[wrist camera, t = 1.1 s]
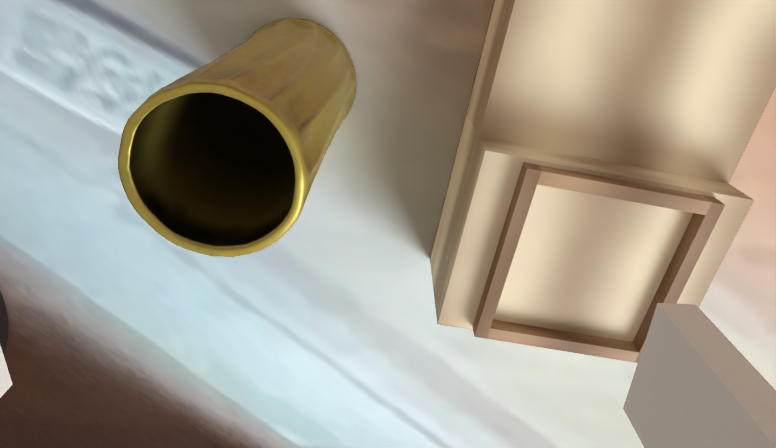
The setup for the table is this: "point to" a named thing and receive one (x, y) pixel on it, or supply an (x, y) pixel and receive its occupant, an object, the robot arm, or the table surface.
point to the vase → (238, 140)
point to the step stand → (600, 167)
